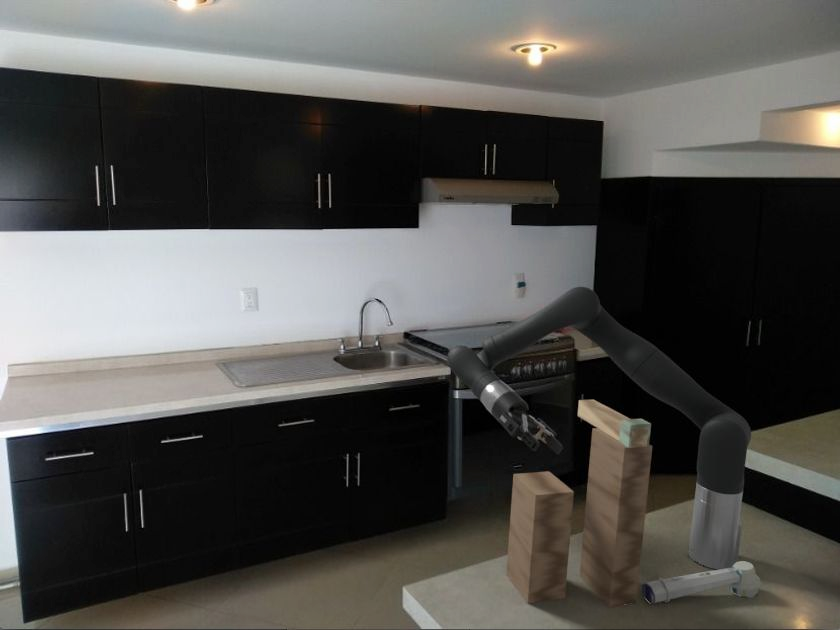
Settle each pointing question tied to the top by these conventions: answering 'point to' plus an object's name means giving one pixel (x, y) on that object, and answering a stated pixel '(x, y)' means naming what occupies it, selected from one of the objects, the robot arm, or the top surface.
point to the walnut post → (614, 518)
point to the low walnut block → (539, 536)
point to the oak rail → (615, 423)
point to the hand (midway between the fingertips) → (549, 449)
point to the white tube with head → (704, 583)
